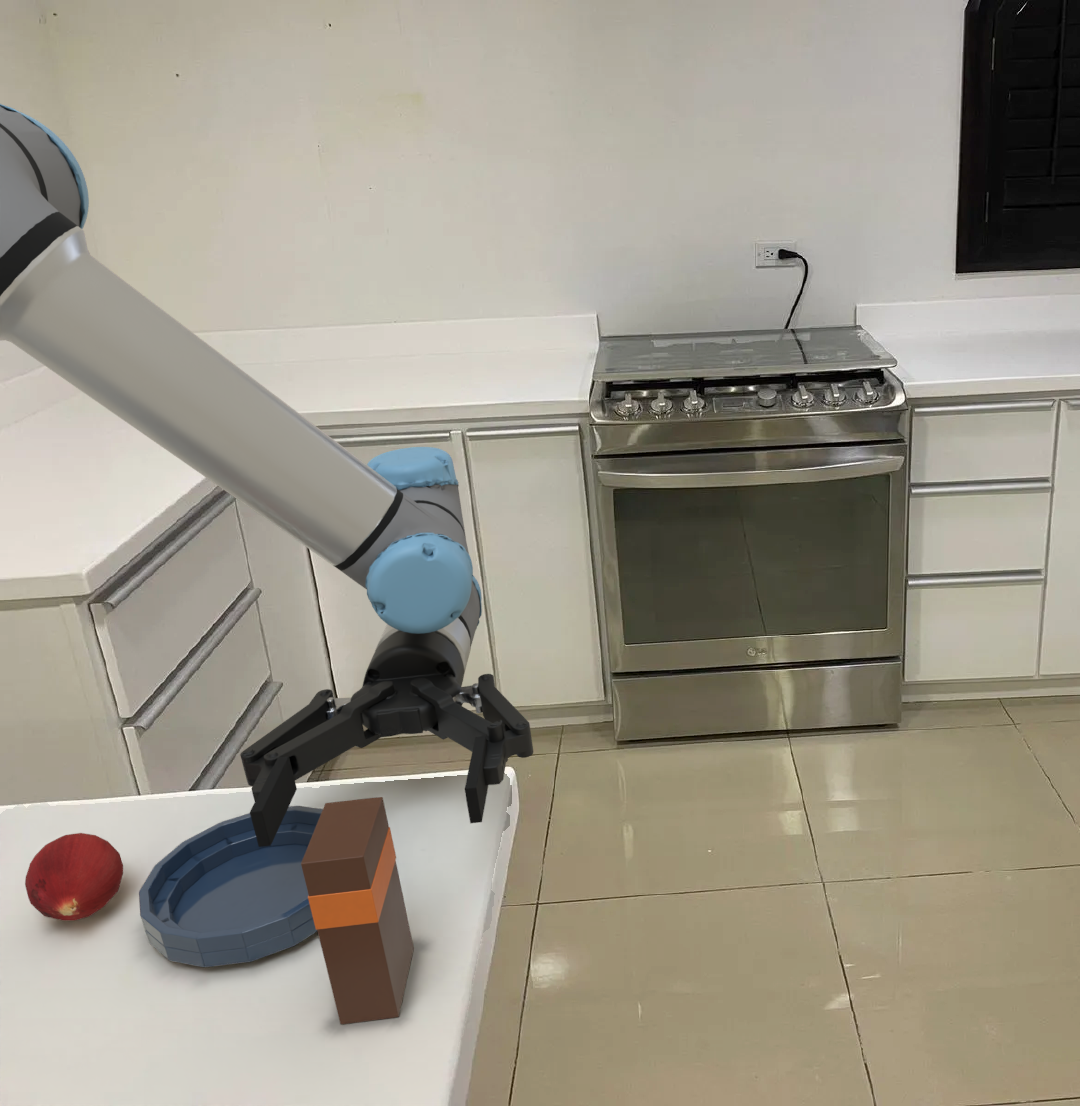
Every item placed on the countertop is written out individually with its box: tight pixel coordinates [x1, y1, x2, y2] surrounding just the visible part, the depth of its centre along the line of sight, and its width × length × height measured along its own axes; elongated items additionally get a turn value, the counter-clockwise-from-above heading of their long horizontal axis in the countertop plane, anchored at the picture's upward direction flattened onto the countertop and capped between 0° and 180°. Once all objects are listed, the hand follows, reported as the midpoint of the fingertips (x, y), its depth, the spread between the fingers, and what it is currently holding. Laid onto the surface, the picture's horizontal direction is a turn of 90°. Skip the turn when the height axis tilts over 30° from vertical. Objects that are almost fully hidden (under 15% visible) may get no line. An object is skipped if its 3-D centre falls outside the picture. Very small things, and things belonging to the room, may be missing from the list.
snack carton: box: [301, 796, 415, 1025], centre depth 66 cm, size 4×6×12 cm, turn 7°
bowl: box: [138, 805, 323, 968], centre depth 76 cm, size 14×14×3 cm
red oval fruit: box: [24, 832, 124, 922], centre depth 76 cm, size 6×6×8 cm
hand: (367, 817), depth 70 cm, fingers open, 13 cm apart
